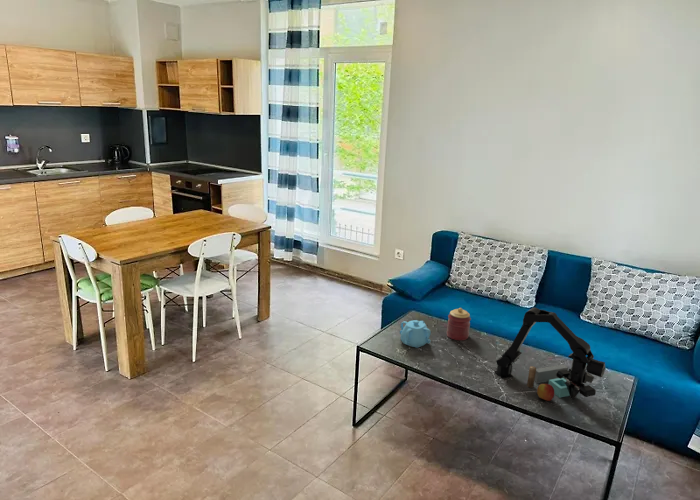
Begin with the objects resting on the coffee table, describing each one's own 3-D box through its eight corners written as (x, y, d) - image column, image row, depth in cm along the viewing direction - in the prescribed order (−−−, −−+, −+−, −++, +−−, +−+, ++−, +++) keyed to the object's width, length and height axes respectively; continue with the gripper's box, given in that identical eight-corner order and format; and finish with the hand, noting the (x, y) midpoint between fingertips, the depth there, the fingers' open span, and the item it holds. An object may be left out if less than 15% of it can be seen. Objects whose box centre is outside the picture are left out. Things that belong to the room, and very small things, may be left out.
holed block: (559, 398, 230) (560, 388, 229) (547, 388, 238) (549, 379, 236) (572, 395, 233) (574, 386, 231) (561, 386, 240) (562, 377, 239)
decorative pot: (398, 336, 286) (399, 314, 282) (425, 336, 287) (427, 315, 283) (402, 349, 271) (403, 327, 267) (431, 350, 271) (432, 327, 268)
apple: (555, 399, 229) (558, 384, 227) (549, 406, 223) (552, 390, 221) (539, 392, 234) (542, 377, 231) (532, 399, 228) (535, 384, 226)
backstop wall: (536, 383, 242) (538, 372, 240) (532, 380, 245) (534, 369, 243) (566, 378, 248) (568, 367, 246) (562, 375, 250) (563, 364, 249)
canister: (472, 339, 286) (476, 311, 281) (452, 341, 282) (455, 313, 277) (461, 330, 297) (464, 302, 293) (442, 332, 294) (445, 304, 289)
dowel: (529, 388, 237) (532, 369, 234) (525, 385, 240) (528, 366, 237) (534, 387, 238) (537, 368, 235) (530, 384, 241) (533, 365, 238)
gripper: (608, 376, 217) (601, 407, 222) (577, 356, 234) (571, 385, 239) (588, 380, 214) (582, 411, 218) (558, 359, 231) (553, 389, 235)
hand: (572, 398), depth 228 cm, fingers closed
